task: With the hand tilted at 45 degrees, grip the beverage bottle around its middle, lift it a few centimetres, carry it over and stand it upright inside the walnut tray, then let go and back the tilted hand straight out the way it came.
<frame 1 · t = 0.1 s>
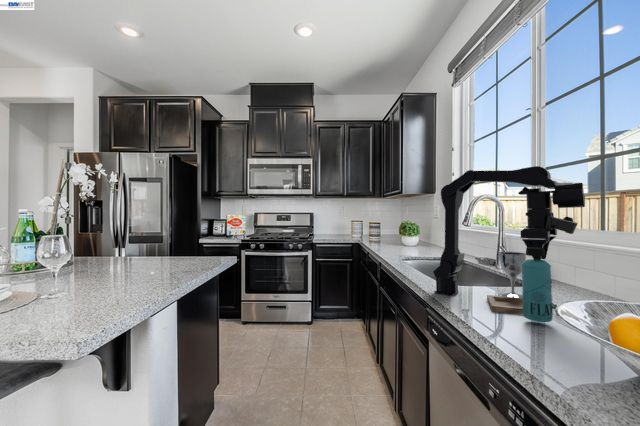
hand: (540, 260, 85), 15 cm above the worktop, tool pointing down, fingers open, 9 cm apart
beverage bottle: (537, 324, 75), on the worktop
walnut tray: (513, 307, 88), on the worktop
wine glass: (513, 296, 100), on the worktop
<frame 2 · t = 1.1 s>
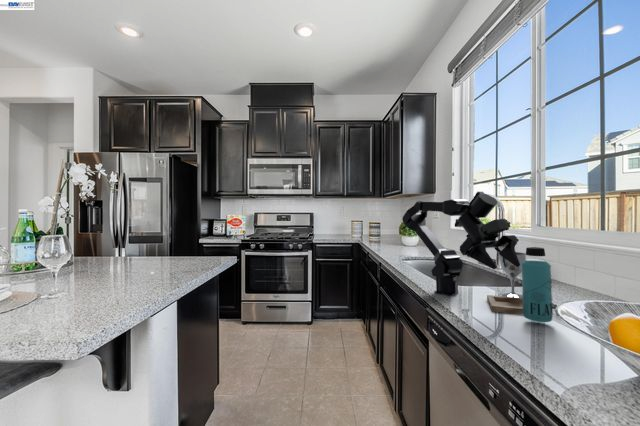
hand: (507, 267, 83), 13 cm above the worktop, tool tilted 45°, fingers open, 9 cm apart
nothing on the worktop moved.
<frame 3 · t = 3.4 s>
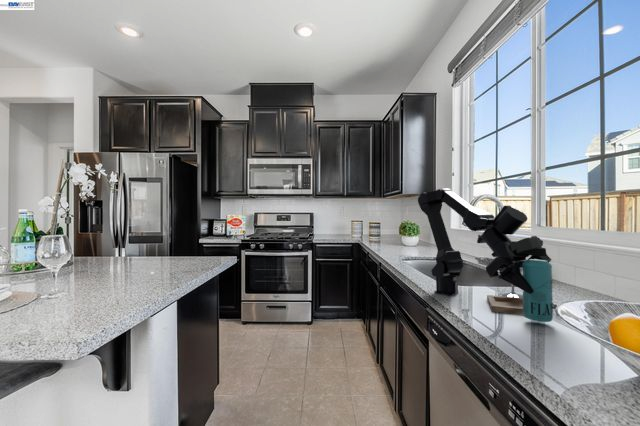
hand: (541, 291, 74), 9 cm above the worktop, tool tilted 45°, fingers closed on beverage bottle, 6 cm apart
beverage bottle: (537, 324, 75), on the worktop, touching gripper
everything else where it was.
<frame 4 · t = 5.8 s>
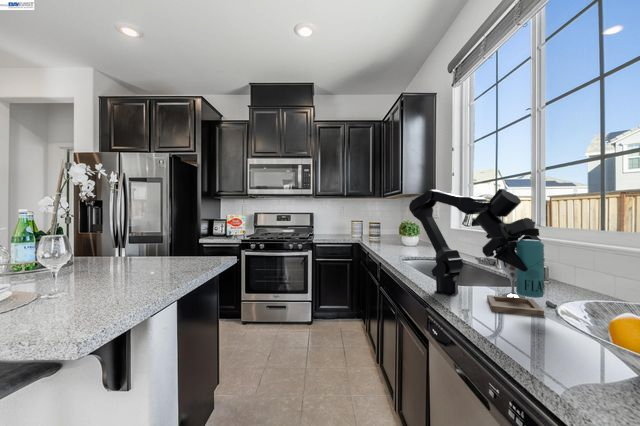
hand: (533, 269, 78), 14 cm above the worktop, tool tilted 45°, fingers closed on beverage bottle, 6 cm apart
beverage bottle: (529, 300, 79), point 5 cm above the worktop, touching gripper
everything else where it was.
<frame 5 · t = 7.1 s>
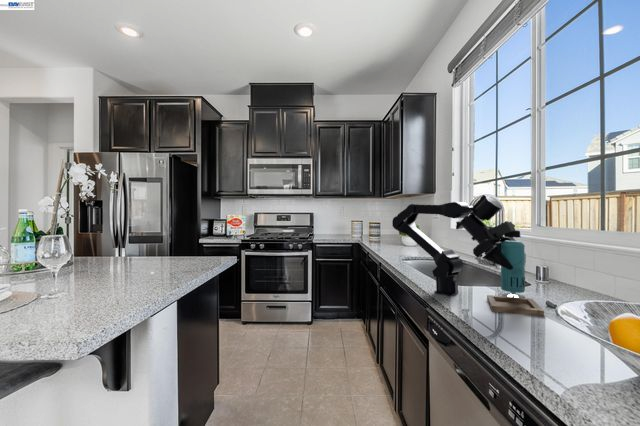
hand: (516, 267, 87), 12 cm above the worktop, tool tilted 45°, fingers closed on beverage bottle, 6 cm apart
beverage bottle: (512, 295, 88), point 4 cm above the worktop, touching gripper
everything else where it was.
when the fingers open (10 cm above the worktop, at t = 8.0 s): beverage bottle drops 1 cm, resting on walnut tray.
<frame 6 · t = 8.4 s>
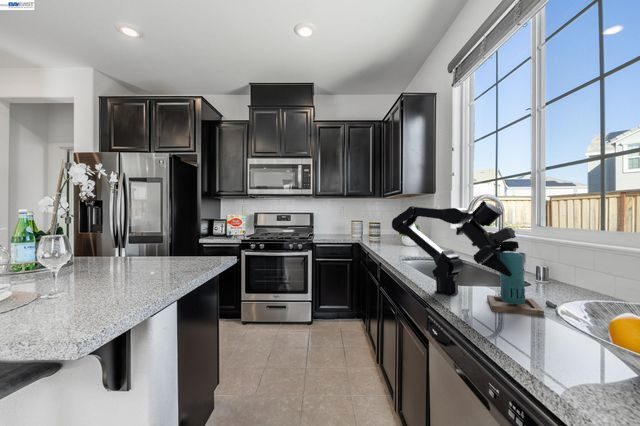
hand: (517, 273, 87), 11 cm above the worktop, tool tilted 45°, fingers open, 9 cm apart
beverage bottle: (512, 306, 88), resting on walnut tray
everything else where it was.
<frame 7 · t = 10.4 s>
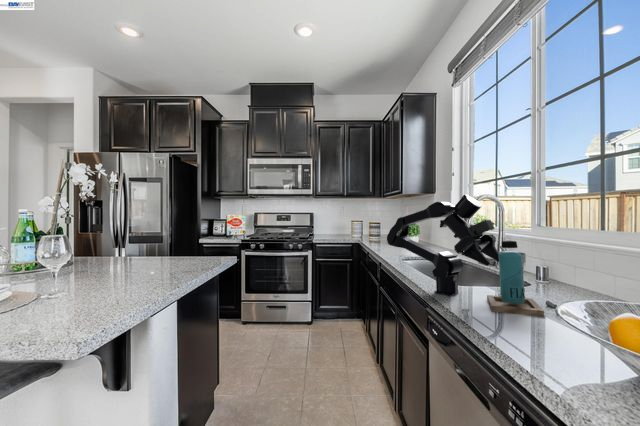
hand: (495, 263, 92), 13 cm above the worktop, tool tilted 45°, fingers open, 9 cm apart
nothing on the worktop moved.
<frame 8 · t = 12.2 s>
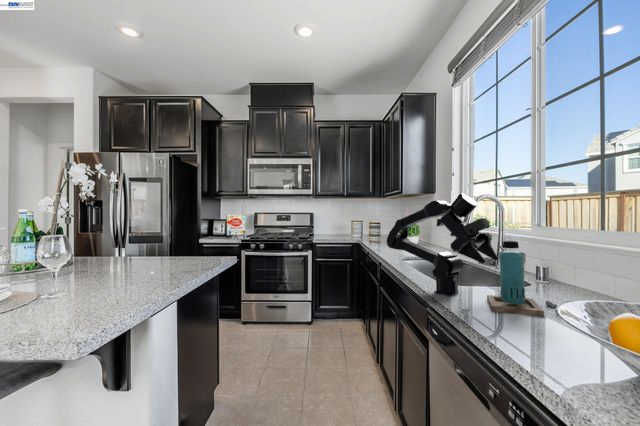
hand: (490, 261, 93), 14 cm above the worktop, tool tilted 45°, fingers open, 9 cm apart
nothing on the worktop moved.
at the end: beverage bottle inside the target area on the walnut tray (0.2 cm from its centre), point 0.2 cm above the walnut tray's base; beverage bottle tilted 0°; the gripper is holding nothing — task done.
